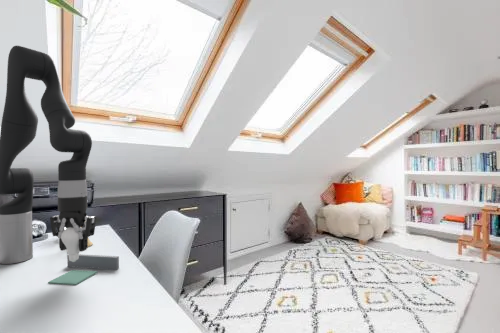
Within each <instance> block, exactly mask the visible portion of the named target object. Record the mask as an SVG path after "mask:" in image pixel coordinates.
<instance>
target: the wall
mask: <svg viewBox="0 0 500 333" xmlns="http://www.w3.org/2000/svg"><path fill="white" fill-rule="evenodd" d="M66 257H67V260H66V261H67V263H66V264H67V268H80V269H97V270H99V269H100V270H114V271H116V270H118V269H120V256H116V255H102V254H101V255H100V254H80V253H79V259H78V260H76V261H75V262H72V261H69V256H68V254H67V256H66Z"/></svg>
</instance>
